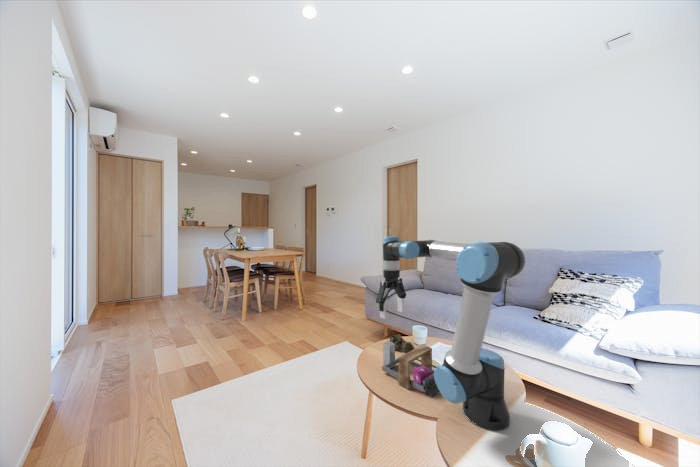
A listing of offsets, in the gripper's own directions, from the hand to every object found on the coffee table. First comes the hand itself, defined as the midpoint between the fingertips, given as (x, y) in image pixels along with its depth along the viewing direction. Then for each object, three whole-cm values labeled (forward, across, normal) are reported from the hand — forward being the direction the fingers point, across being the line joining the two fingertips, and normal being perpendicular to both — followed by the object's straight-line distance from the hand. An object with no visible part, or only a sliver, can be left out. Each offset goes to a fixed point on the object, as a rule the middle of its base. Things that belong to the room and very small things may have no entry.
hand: (392, 314), depth 126 cm
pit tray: (+28, -3, +20) cm, 35 cm away
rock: (+28, -25, -12) cm, 39 cm away
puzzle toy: (+28, -4, +14) cm, 32 cm away
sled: (+27, -4, +6) cm, 28 cm away
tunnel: (+28, -4, +10) cm, 30 cm away
